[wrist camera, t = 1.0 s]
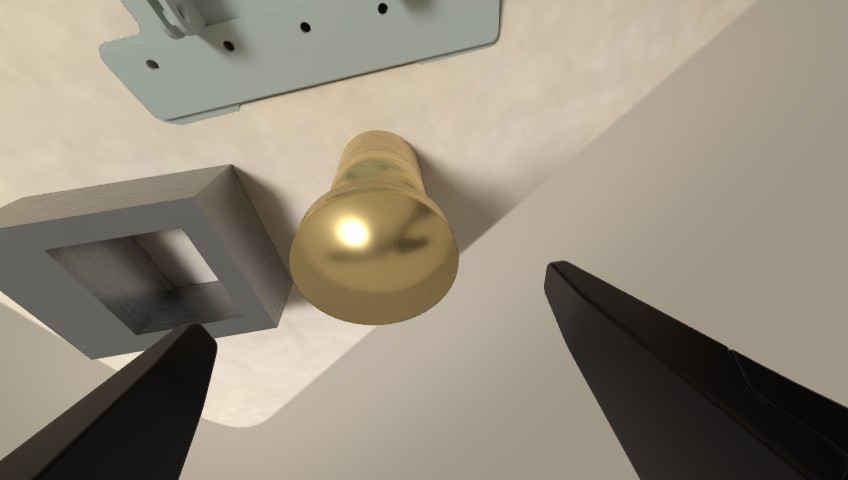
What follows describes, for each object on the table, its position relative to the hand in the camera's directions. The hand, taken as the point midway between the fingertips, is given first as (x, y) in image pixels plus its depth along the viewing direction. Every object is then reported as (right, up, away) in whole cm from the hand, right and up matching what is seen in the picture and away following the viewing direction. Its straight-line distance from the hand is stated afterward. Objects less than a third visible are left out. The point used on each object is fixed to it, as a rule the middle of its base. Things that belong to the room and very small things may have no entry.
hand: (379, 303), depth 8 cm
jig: (-13, +1, +9) cm, 16 cm away
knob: (-1, +5, +8) cm, 10 cm away
